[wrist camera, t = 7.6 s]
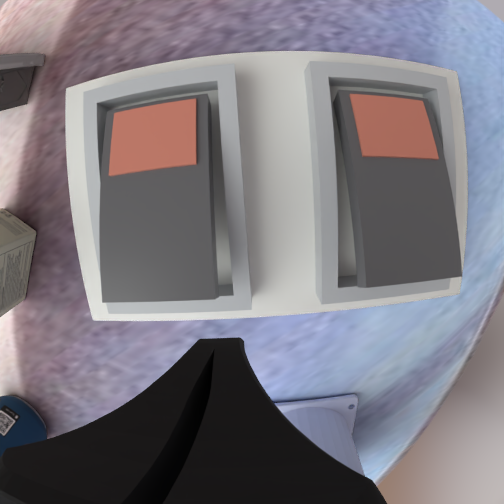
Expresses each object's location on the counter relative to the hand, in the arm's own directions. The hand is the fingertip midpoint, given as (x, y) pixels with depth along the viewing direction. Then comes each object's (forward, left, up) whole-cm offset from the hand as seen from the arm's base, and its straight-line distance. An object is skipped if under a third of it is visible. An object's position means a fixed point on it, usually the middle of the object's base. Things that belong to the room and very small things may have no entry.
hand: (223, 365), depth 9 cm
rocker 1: (+5, +3, -5) cm, 8 cm away
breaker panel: (+5, -2, -9) cm, 11 cm away
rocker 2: (+5, -8, -5) cm, 11 cm away
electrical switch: (+15, +17, -10) cm, 25 cm away
